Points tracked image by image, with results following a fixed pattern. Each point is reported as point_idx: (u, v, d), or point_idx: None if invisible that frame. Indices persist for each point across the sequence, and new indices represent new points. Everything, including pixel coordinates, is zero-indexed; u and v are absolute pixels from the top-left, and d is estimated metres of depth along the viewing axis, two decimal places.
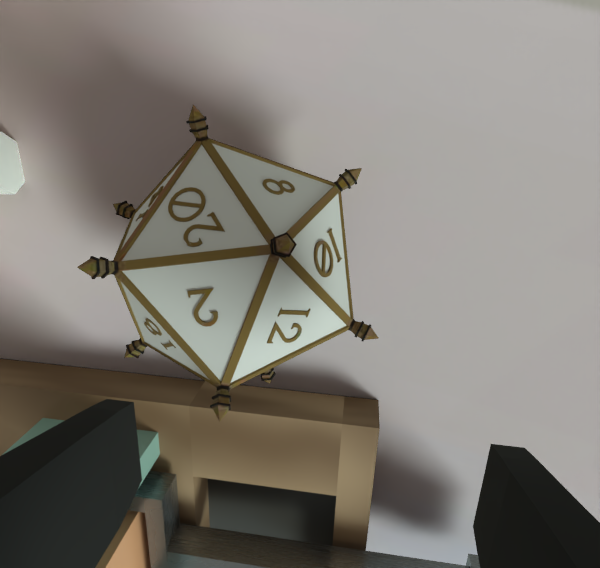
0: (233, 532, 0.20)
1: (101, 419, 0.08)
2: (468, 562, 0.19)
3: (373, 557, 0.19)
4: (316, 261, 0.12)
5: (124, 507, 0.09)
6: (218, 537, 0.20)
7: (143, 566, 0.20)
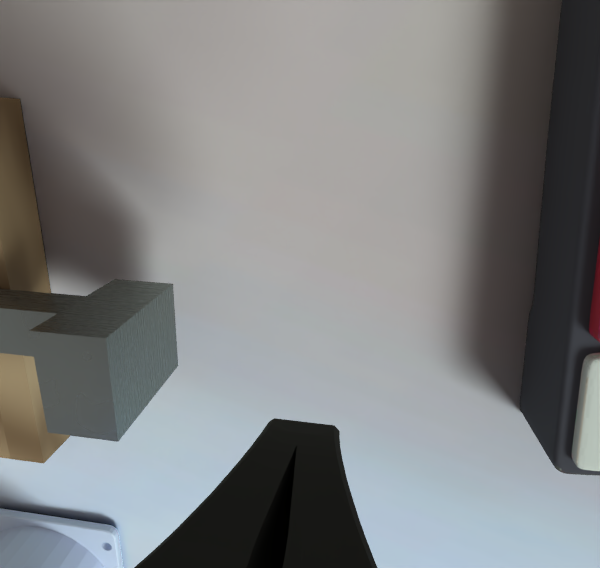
0: None
1: (291, 443, 0.08)
2: None
3: (2, 292, 0.15)
4: None
5: None
6: None
7: None
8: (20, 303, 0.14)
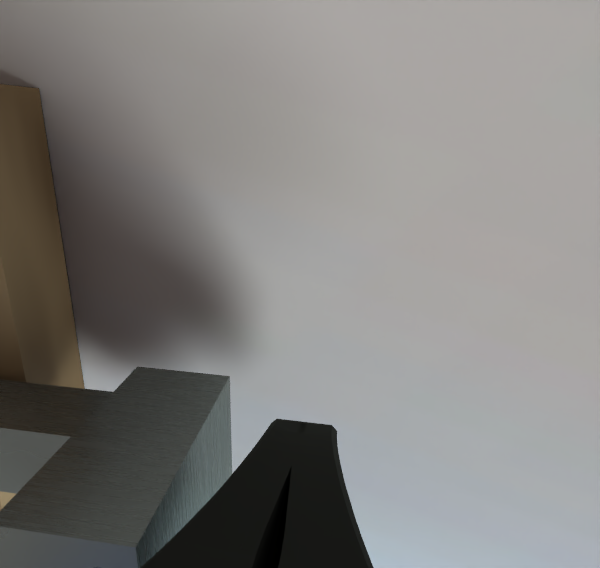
0: None
1: (294, 443, 0.08)
2: None
3: None
4: None
5: None
6: None
7: None
8: None
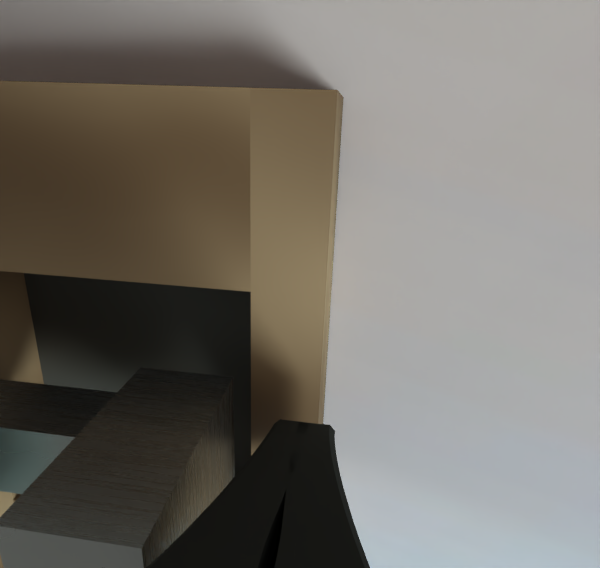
0: None
1: (298, 443, 0.08)
2: None
3: None
4: None
5: None
6: None
7: None
8: None
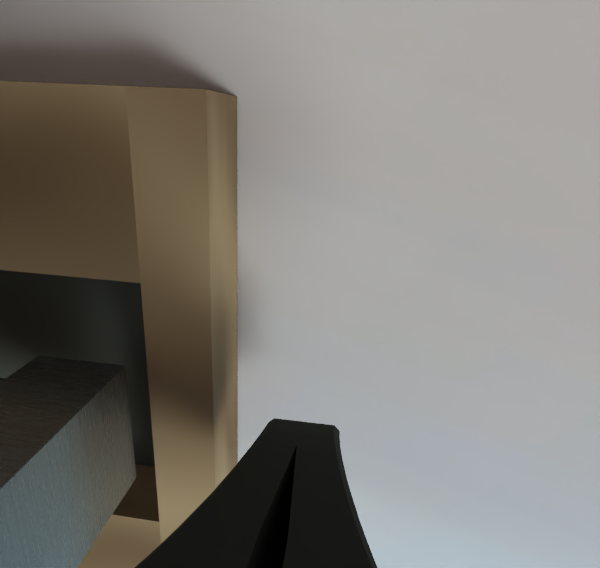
0: None
1: (291, 442, 0.08)
2: None
3: None
4: None
5: None
6: None
7: None
8: None
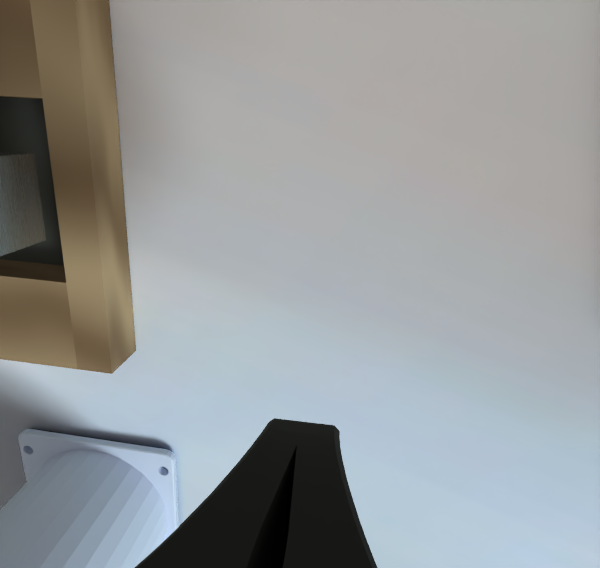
0: None
1: (291, 443, 0.08)
2: None
3: None
4: None
5: None
6: None
7: None
8: None
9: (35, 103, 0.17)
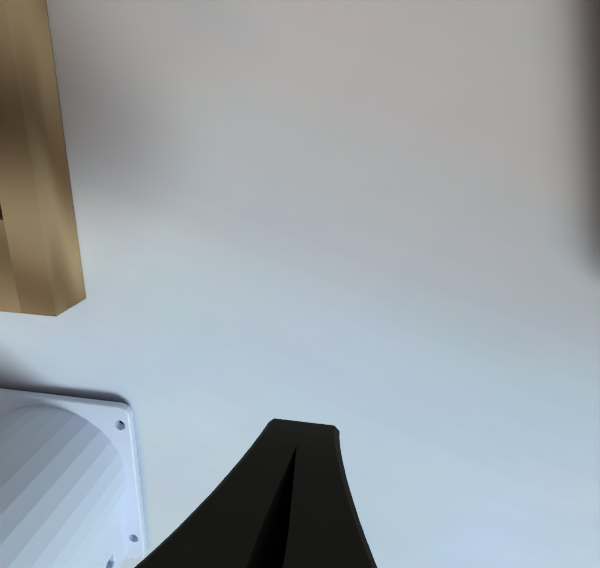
0: None
1: (291, 442, 0.08)
2: None
3: None
4: None
5: None
6: None
7: None
8: None
9: None
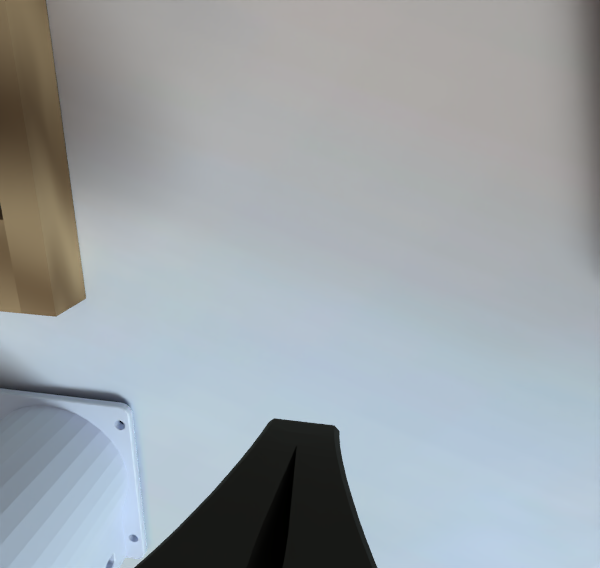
0: None
1: (291, 442, 0.08)
2: None
3: None
4: None
5: None
6: None
7: None
8: None
9: None
